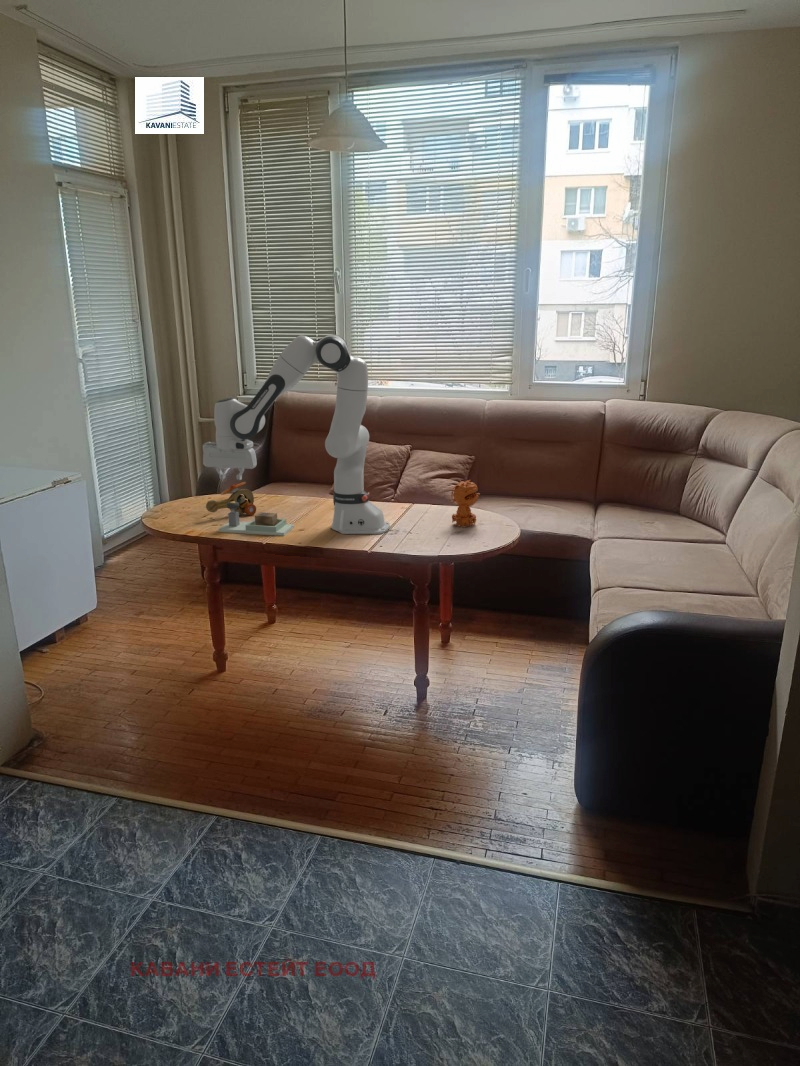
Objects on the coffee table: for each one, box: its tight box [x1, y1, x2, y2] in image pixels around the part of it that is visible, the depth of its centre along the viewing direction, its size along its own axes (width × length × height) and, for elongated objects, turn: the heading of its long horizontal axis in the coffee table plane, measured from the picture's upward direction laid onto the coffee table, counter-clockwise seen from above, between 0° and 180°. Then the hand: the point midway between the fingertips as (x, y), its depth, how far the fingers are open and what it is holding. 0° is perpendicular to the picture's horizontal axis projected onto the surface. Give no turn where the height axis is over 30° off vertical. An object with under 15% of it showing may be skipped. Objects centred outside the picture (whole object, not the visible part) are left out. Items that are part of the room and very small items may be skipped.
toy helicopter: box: [205, 481, 257, 516], centre depth 288 cm, size 8×21×14 cm, turn 132°
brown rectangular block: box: [254, 512, 278, 526], centre depth 270 cm, size 7×5×5 cm
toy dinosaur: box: [450, 479, 481, 527], centre depth 275 cm, size 11×11×18 cm
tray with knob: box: [218, 511, 295, 537], centre depth 271 cm, size 26×11×6 cm, turn 79°
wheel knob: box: [226, 502, 239, 513], centre depth 272 cm, size 4×4×5 cm
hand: (230, 479), depth 268 cm, fingers open, 5 cm apart
